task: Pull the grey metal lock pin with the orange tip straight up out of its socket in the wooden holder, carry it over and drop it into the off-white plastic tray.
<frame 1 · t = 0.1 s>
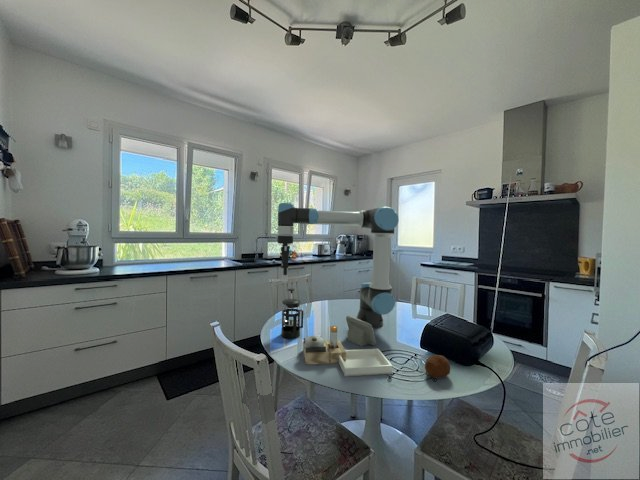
hand: (284, 279, 128), 28 cm above the table, fingers open, 13 cm apart
french press: (291, 335, 130), on the table
lock pin: (332, 355, 110), resting in wooden holder
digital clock: (360, 341, 126), on the table
tray: (362, 365, 103), on the table
wooden holder: (323, 356, 110), on the table
potato: (436, 376, 97), on the table
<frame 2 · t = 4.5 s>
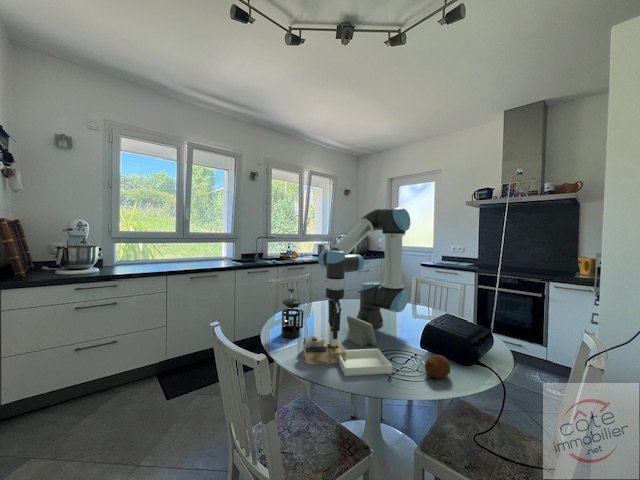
hand: (333, 343, 110), 5 cm above the table, fingers closed on lock pin, 3 cm apart
lock pin: (332, 355, 110), resting in wooden holder, touching gripper
everything else where it was.
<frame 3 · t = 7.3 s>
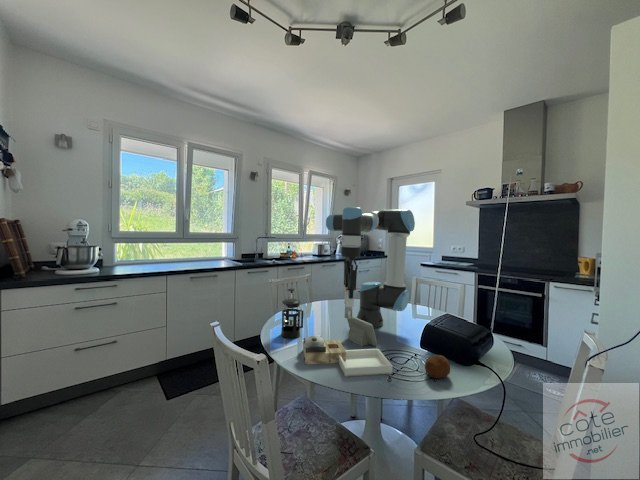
hand: (348, 304, 105), 23 cm above the table, fingers closed on lock pin, 3 cm apart
lock pin: (348, 317, 106), point 18 cm above the table, touching gripper
everything else where it was.
when the fingers open (7 cm above the table, at t = 10.0 s): lock pin drops 1 cm, resting on tray.
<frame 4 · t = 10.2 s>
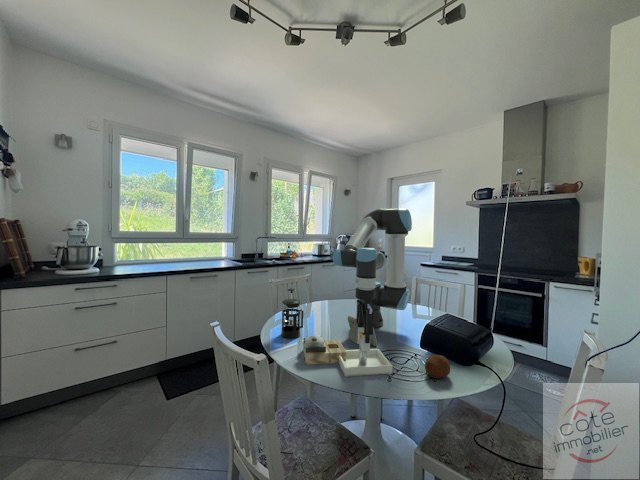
hand: (363, 346, 103), 7 cm above the table, fingers open, 5 cm apart
lock pin: (362, 363, 103), point 1 cm above the table, touching tray
everything else where it was.
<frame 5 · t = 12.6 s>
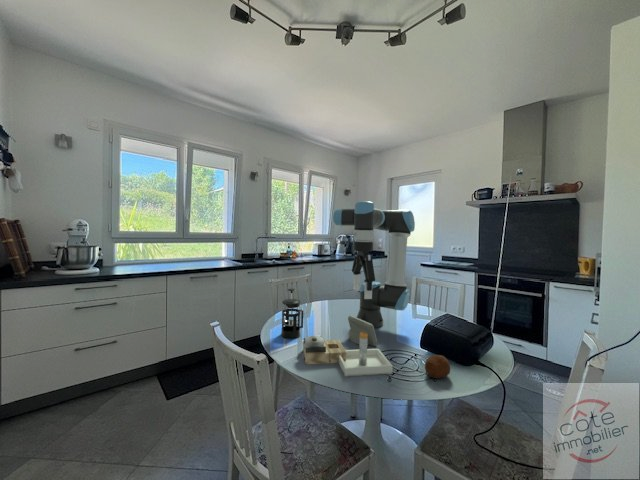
hand: (361, 294, 105), 27 cm above the table, fingers open, 13 cm apart
nothing on the table moved.
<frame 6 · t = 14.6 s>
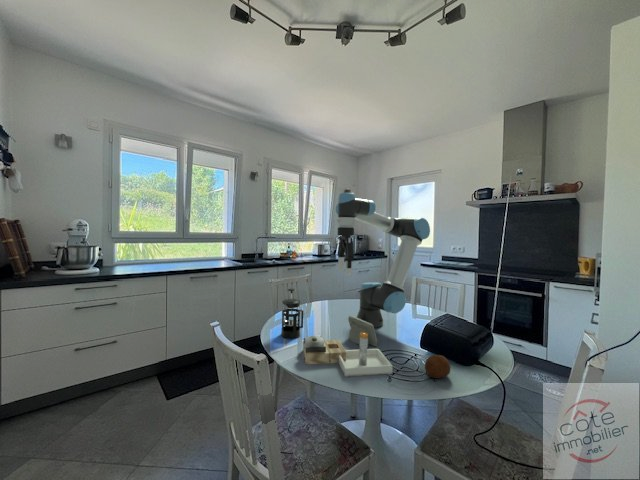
hand: (344, 273, 122), 33 cm above the table, fingers open, 13 cm apart
nothing on the table moved.
at the end: lock pin inside the target area on the tray (0.0 cm from its centre), point 0.6 cm above the tray's base; the gripper is holding nothing; lock pin touching tray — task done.
